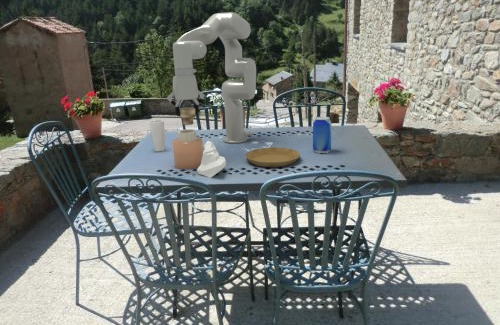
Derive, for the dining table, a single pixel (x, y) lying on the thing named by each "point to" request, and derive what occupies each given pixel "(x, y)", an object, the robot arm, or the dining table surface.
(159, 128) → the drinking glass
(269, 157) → the plant saucer
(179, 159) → the orange jar
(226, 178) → the dining table surface
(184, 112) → the stopper
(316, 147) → the beer can
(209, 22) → the robot arm
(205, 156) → the soft serve ice cream
